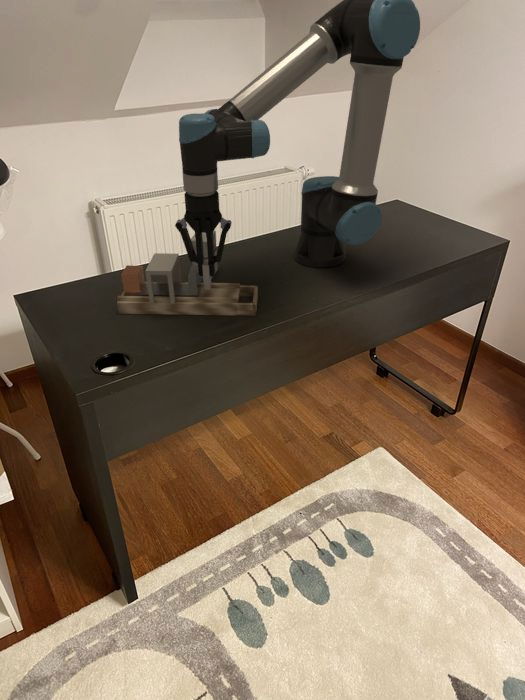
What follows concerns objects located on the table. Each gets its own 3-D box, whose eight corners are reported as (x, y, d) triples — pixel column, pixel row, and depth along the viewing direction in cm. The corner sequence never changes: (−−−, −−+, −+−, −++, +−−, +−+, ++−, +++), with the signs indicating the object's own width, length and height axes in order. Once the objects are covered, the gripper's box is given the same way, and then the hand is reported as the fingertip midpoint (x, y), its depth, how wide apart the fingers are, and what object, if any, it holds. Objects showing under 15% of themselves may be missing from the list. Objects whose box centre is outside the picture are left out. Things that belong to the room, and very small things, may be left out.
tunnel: (181, 284, 134) (178, 253, 129) (174, 303, 126) (171, 271, 121) (158, 284, 134) (154, 253, 129) (149, 303, 126) (145, 270, 121)
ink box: (210, 282, 142) (207, 241, 135) (192, 281, 142) (189, 240, 136) (218, 269, 148) (216, 229, 142) (202, 268, 149) (199, 228, 143)
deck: (257, 296, 135) (257, 282, 133) (256, 315, 127) (255, 301, 124) (129, 294, 136) (126, 280, 134) (118, 313, 128) (116, 298, 126)
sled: (201, 287, 132) (199, 265, 129) (197, 298, 127) (196, 276, 124) (130, 286, 133) (127, 264, 129) (124, 297, 128) (120, 275, 124)
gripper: (232, 186, 118) (235, 280, 131) (174, 185, 119) (183, 280, 132) (229, 196, 112) (233, 294, 125) (168, 196, 112) (178, 294, 125)
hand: (207, 287), depth 128 cm, fingers closed
